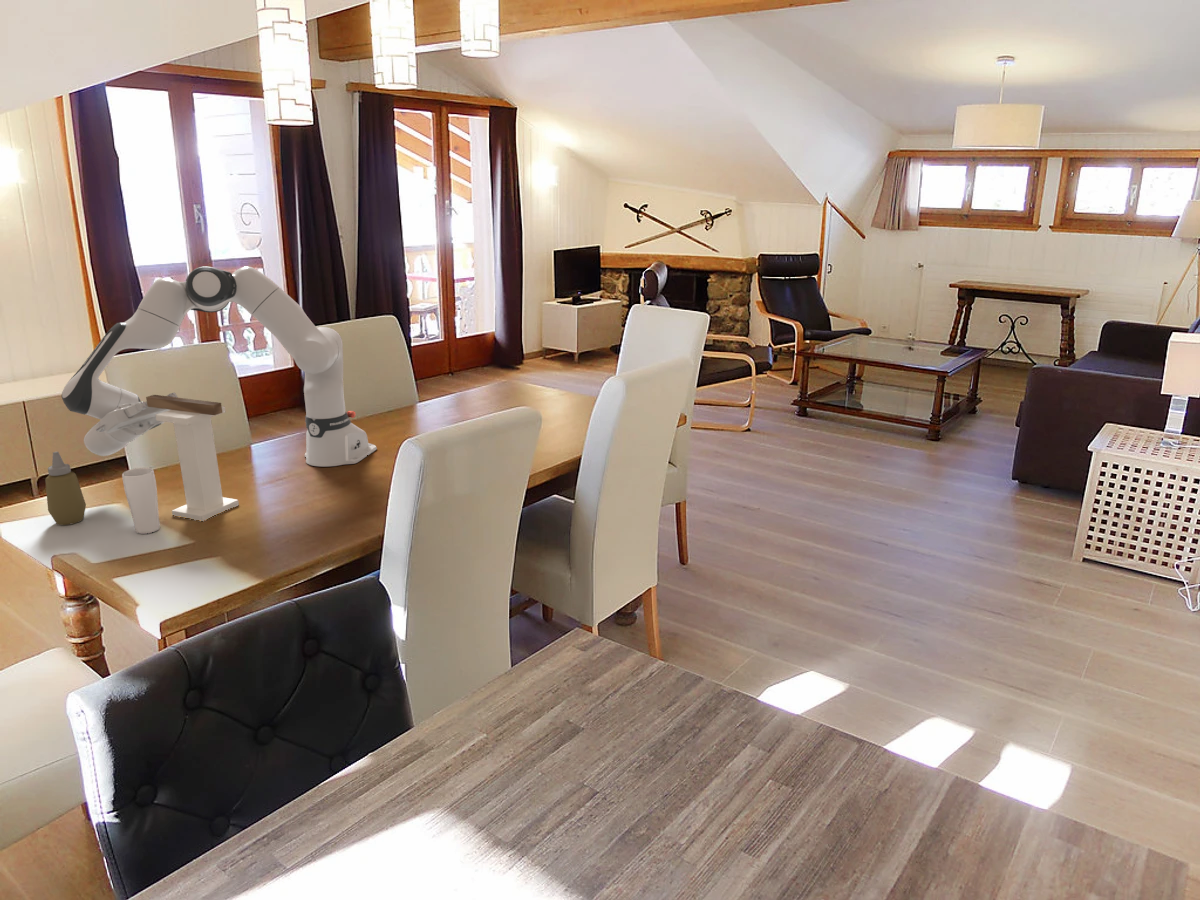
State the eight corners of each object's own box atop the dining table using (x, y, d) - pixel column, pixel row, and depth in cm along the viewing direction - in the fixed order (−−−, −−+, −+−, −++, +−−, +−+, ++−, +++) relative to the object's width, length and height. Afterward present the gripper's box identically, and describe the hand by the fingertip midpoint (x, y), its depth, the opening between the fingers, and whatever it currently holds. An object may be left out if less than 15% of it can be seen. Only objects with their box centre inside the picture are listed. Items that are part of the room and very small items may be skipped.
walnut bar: (155, 404, 217) (154, 394, 217) (222, 412, 209) (221, 402, 209) (147, 406, 215) (145, 396, 214) (214, 415, 207) (213, 405, 206)
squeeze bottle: (49, 529, 208) (34, 459, 203) (52, 518, 215) (37, 450, 209) (88, 523, 212) (74, 454, 206) (89, 512, 218) (75, 445, 213)
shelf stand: (209, 499, 227) (194, 402, 219) (238, 505, 223) (224, 406, 215) (172, 516, 216) (155, 414, 208) (202, 521, 213) (186, 418, 204)
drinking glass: (169, 525, 210) (159, 467, 206) (153, 536, 204) (142, 477, 199) (143, 524, 211) (133, 466, 207) (126, 535, 205) (115, 476, 200)
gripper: (86, 421, 212) (116, 398, 205) (155, 401, 230) (184, 380, 223) (99, 444, 212) (129, 421, 206) (167, 422, 230) (197, 401, 224)
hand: (158, 400), depth 215 cm, fingers open, 8 cm apart
